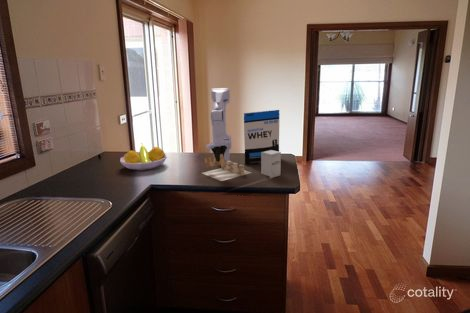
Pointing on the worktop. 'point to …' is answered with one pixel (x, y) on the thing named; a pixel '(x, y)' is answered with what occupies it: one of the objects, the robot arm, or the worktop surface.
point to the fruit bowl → (144, 158)
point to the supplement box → (271, 163)
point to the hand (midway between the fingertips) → (219, 160)
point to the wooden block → (210, 161)
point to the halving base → (227, 171)
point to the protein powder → (260, 134)
